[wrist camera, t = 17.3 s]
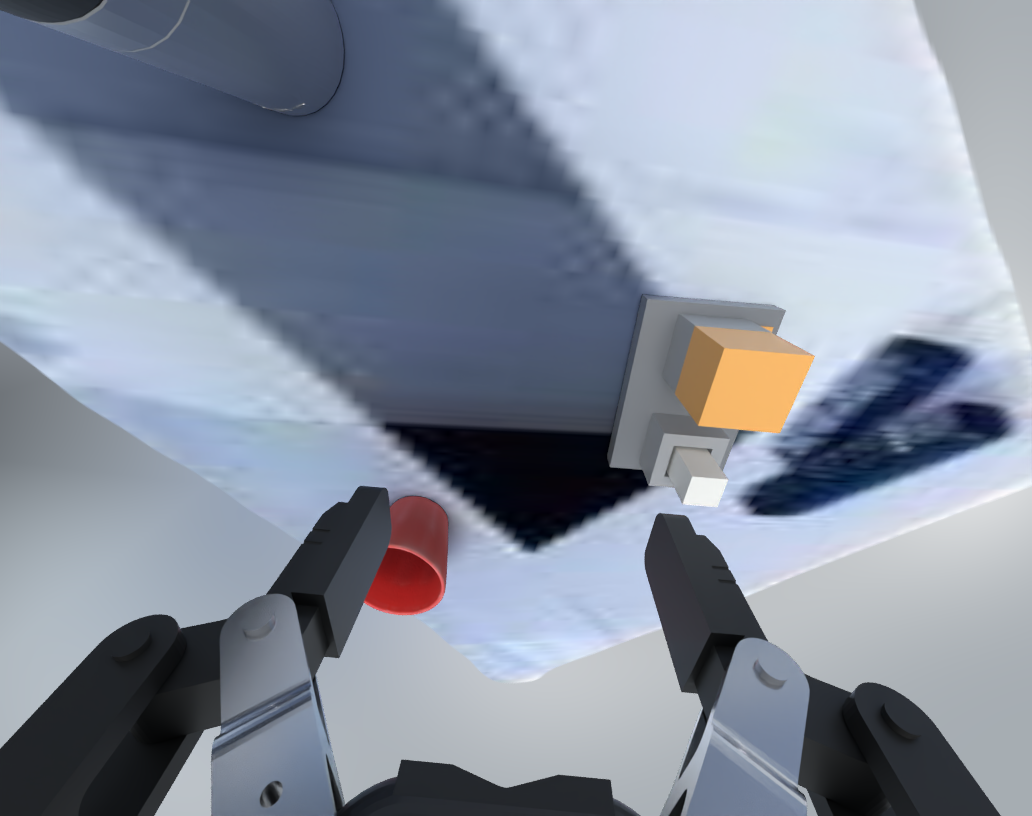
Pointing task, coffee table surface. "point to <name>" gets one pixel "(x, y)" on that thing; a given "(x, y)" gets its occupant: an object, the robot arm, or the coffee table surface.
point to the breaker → (696, 476)
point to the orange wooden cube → (741, 378)
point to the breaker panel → (672, 382)
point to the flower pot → (412, 559)
